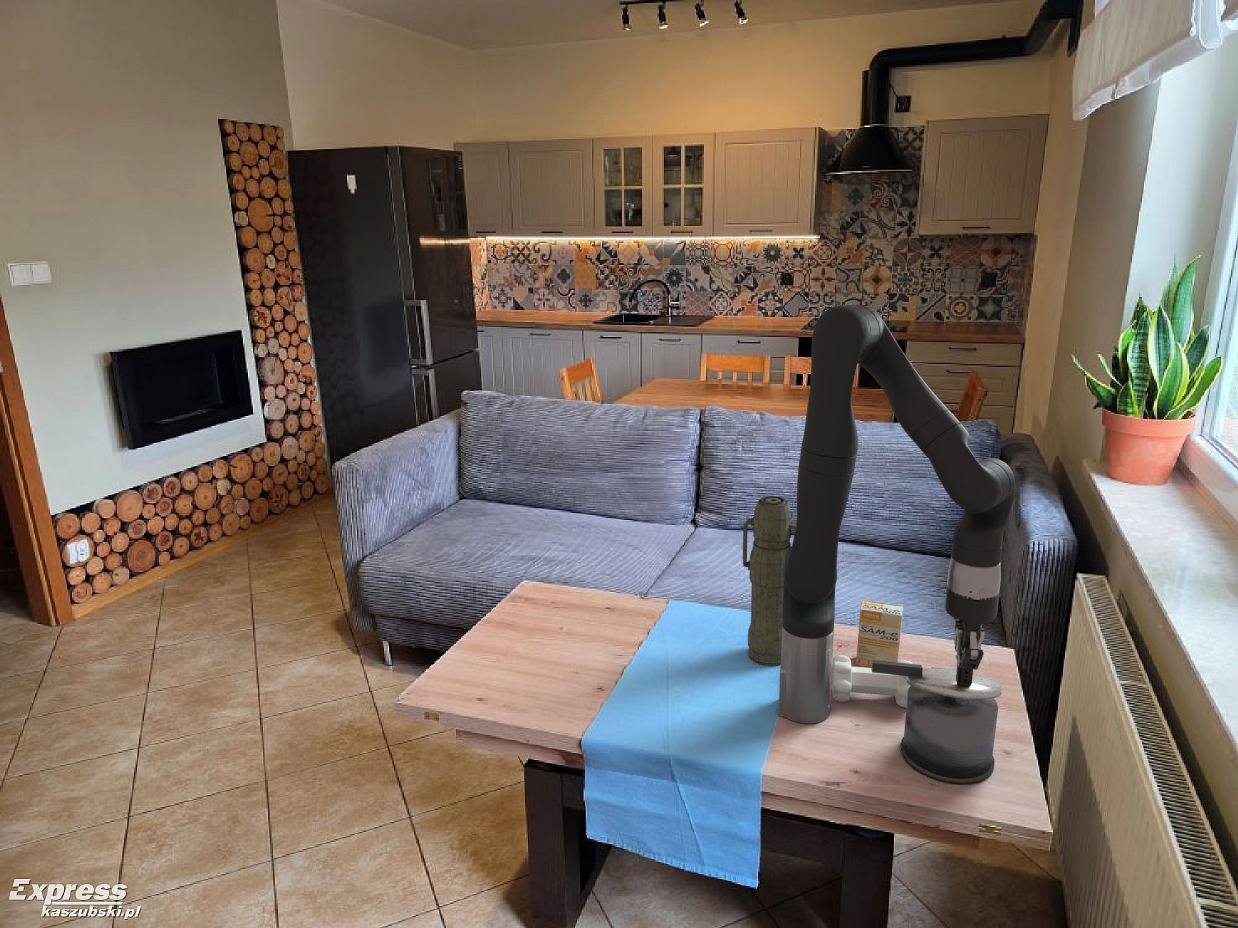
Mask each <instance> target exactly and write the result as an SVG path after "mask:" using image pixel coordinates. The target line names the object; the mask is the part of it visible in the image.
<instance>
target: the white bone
mask: <svg viewBox="0 0 1238 928" xmlns="http://www.w3.org/2000/svg"><path fill="white" fill-rule="evenodd" d="M898 663H908V664H914V662H912V661H910V660H905V659H903V660H898ZM910 686H911V685H909V684H908V683H907V676H901V675H891V674H882V673H872V670H871V668H867V667H860V666H852V660H851V659H850V657H849V656H846V655H844V654H840V655H836V656H834V657H832V681H831V691H832V695H831V696H832V698H833V700H835V702H840V703H845V702H848V701H850V700H851V693H859V694H867V695H868V694H870V695H879V696H881V695H882V696H893V697H895V702H896V703H895V704H897V705H898V707H901V708H904V709H905V708H906V706H907V694H908V689H909V687H910Z"/></svg>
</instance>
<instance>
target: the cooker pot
mask: <svg viewBox="0 0 1238 928" xmlns="http://www.w3.org/2000/svg"><path fill="white" fill-rule="evenodd" d="M998 705H999V704H998V703H997V701H996V698H992V699H962V698H954V697H947V696H942V695H937V694H933V693H929V692H925V691H922V690H919V689H917V688H914V687H912V686H910V687H909V689H908V694H907V706H906V709H905V720H904V733H903V737H902V739H901V742H900V754H901V756H902V758H903V760H904V761H905V763H906V764H907V765H908V766H910V767H911V768H912V769H913V770H914V771H916V772H917V773H919V774H921V775H922V776H924V777H926V778H929V779H930V780H931V779H932V780H934V781H937V782H940V783H944V784H950V785H959V786H960V785H961V786H965V785H966V786H967V785H975V784H978V783H982V782H984V781H985V780H987V779H989V777H991V775H992V774H993V772H994V770H995V758H994V748H995V745H994V744H995V738H996V729H997V722H998V711H999V706H998Z"/></svg>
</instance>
